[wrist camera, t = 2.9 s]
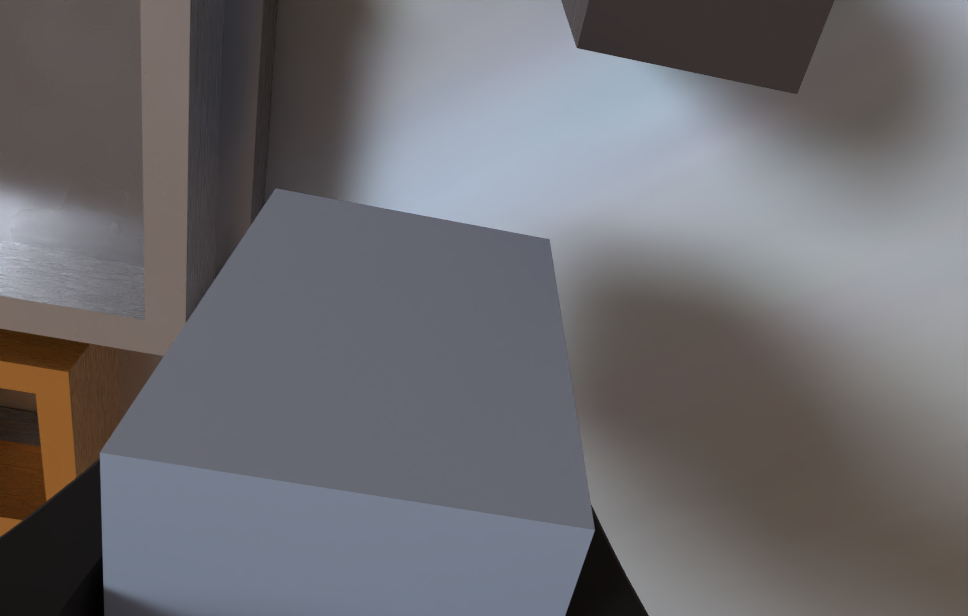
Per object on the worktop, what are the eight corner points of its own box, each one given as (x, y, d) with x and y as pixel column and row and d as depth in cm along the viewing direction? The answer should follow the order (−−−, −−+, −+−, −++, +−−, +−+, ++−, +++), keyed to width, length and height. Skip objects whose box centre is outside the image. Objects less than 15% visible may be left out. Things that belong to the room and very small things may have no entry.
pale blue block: (482, 497, 14) (478, 863, 9) (252, 461, 14) (109, 820, 9) (549, 239, 12) (594, 529, 7) (275, 187, 12) (99, 452, 6)
